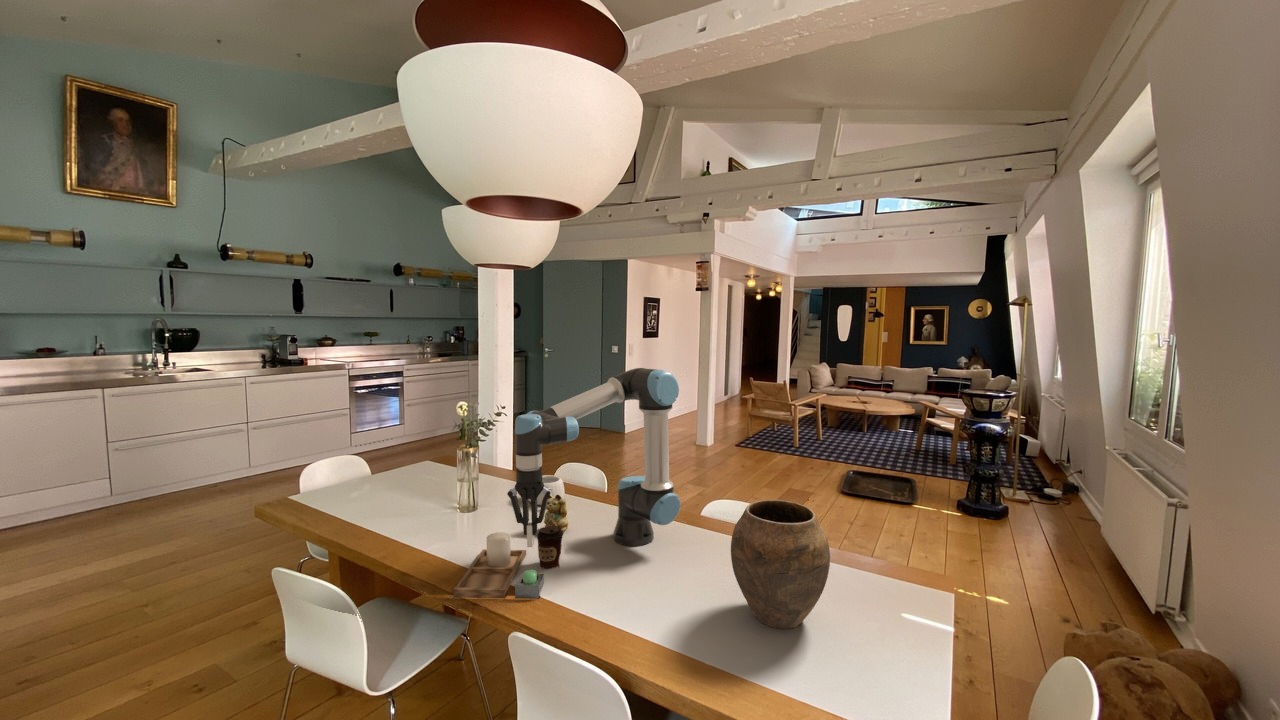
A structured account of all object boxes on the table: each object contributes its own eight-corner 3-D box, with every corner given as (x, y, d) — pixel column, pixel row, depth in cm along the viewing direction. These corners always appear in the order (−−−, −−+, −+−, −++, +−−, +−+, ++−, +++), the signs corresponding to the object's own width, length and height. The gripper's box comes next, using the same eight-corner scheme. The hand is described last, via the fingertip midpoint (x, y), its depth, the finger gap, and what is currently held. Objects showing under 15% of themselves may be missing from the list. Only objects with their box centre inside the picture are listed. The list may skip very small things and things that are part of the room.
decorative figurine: (540, 533, 199) (540, 495, 198) (549, 525, 207) (549, 488, 206) (564, 536, 196) (564, 497, 195) (572, 527, 204) (572, 490, 203)
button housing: (543, 586, 158) (543, 574, 158) (539, 598, 151) (539, 585, 151) (521, 586, 158) (520, 573, 158) (515, 598, 151) (515, 585, 151)
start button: (537, 585, 157) (537, 569, 156) (535, 592, 153) (535, 576, 152) (524, 585, 157) (524, 569, 156) (521, 592, 153) (521, 575, 152)
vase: (710, 616, 143) (712, 509, 141) (762, 583, 161) (764, 489, 159) (797, 660, 124) (800, 538, 122) (844, 617, 143) (848, 511, 141)
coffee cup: (557, 575, 166) (557, 535, 165) (532, 572, 167) (532, 533, 166) (566, 563, 174) (566, 525, 173) (543, 560, 176) (542, 523, 175)
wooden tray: (526, 557, 178) (526, 550, 178) (505, 598, 151) (504, 590, 151) (482, 556, 178) (482, 549, 178) (453, 597, 151) (453, 589, 151)
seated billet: (513, 558, 175) (513, 532, 174) (507, 568, 167) (507, 541, 167) (490, 558, 175) (490, 532, 174) (483, 568, 167) (483, 541, 167)
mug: (525, 496, 241) (525, 475, 241) (561, 493, 246) (561, 472, 246) (530, 512, 221) (530, 489, 220) (569, 508, 226) (569, 486, 225)
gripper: (553, 463, 156) (554, 540, 158) (510, 463, 156) (512, 539, 158) (548, 471, 148) (550, 550, 150) (503, 471, 149) (505, 550, 150)
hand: (530, 545), depth 154 cm, fingers closed
